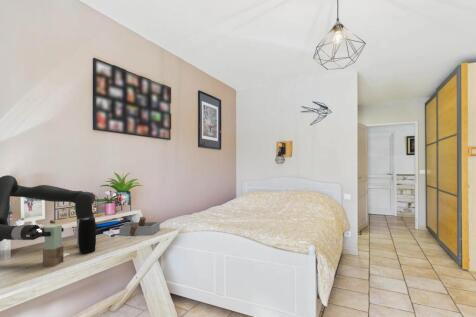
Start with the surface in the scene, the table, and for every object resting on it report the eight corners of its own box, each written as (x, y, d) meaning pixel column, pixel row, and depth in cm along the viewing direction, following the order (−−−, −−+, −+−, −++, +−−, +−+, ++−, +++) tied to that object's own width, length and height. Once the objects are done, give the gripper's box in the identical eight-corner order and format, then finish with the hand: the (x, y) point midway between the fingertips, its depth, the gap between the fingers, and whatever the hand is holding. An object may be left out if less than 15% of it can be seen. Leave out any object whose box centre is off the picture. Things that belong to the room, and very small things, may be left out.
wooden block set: (133, 238, 178) (136, 226, 176) (125, 232, 182) (128, 220, 180) (152, 231, 194) (155, 219, 193) (144, 226, 198) (148, 214, 196)
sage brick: (52, 246, 131) (52, 225, 131) (61, 246, 131) (61, 224, 131) (44, 249, 126) (44, 227, 126) (54, 249, 126) (54, 227, 126)
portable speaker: (75, 255, 140) (75, 219, 141) (82, 249, 150) (82, 216, 150) (92, 253, 142) (92, 218, 143) (98, 248, 152) (97, 215, 152)
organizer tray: (129, 230, 196) (129, 222, 196) (159, 229, 195) (159, 221, 195) (119, 235, 180) (119, 227, 180) (152, 235, 179) (151, 226, 179)
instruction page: (52, 253, 144) (52, 253, 144) (71, 253, 143) (71, 252, 143) (40, 259, 136) (40, 258, 136) (60, 258, 135) (60, 258, 135)
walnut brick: (52, 261, 131) (52, 246, 132) (63, 261, 131) (63, 246, 131) (42, 266, 125) (42, 249, 126) (54, 266, 125) (54, 249, 125)
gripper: (13, 228, 122) (45, 227, 122) (37, 222, 137) (66, 221, 136) (13, 244, 122) (45, 243, 121) (37, 236, 136) (67, 235, 136)
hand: (56, 231), depth 129 cm, fingers open, 8 cm apart
